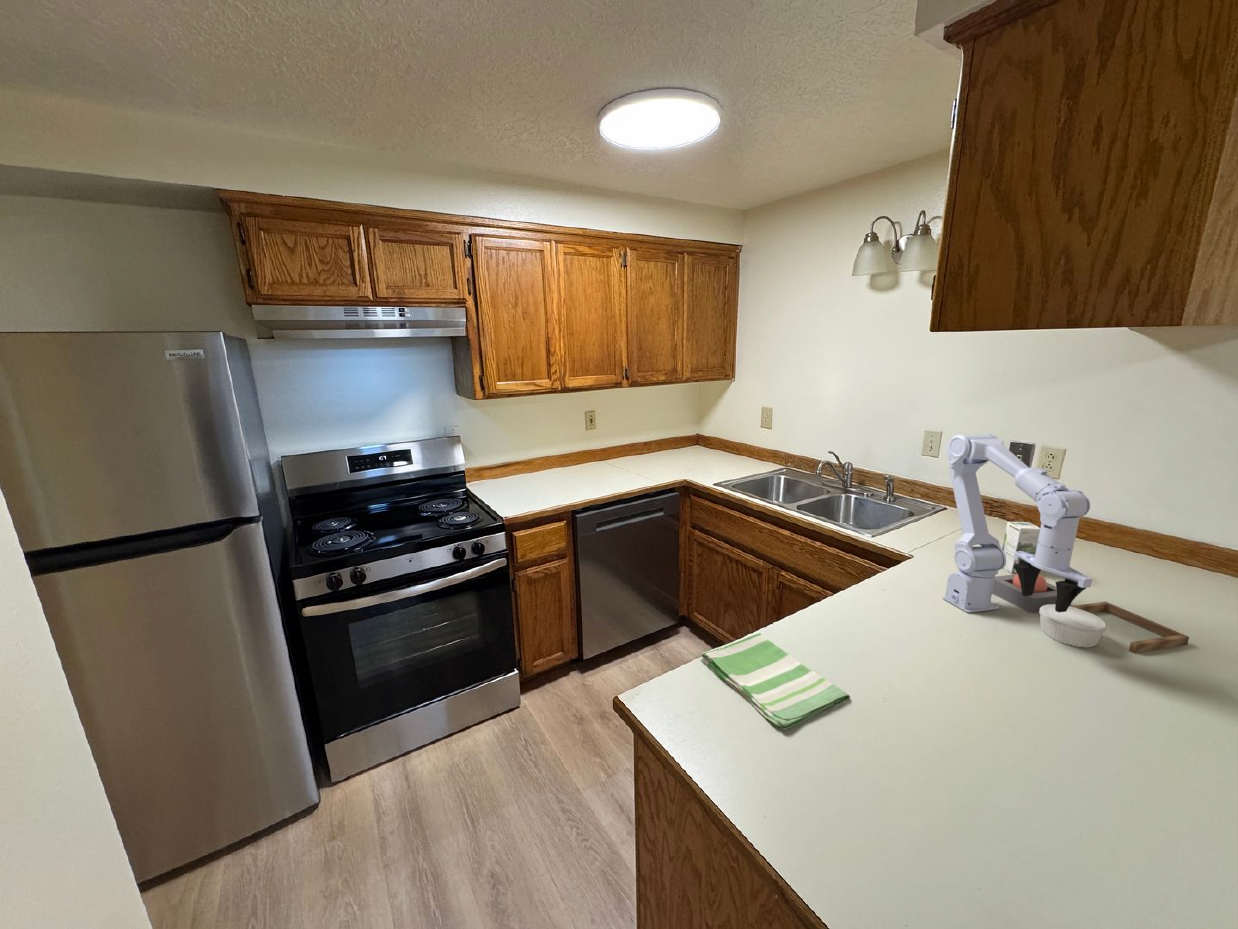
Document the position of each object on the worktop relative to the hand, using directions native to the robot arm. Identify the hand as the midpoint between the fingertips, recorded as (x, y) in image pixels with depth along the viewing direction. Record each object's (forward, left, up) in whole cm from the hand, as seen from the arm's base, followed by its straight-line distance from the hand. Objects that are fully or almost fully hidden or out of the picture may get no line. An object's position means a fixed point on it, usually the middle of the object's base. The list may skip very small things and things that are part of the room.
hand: (1043, 603), depth 107 cm
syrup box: (+31, +31, -10) cm, 45 cm away
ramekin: (+9, 0, -10) cm, 13 cm away
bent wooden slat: (+23, 0, -9) cm, 25 cm away
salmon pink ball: (+17, +16, -9) cm, 25 cm away
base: (+17, +16, -9) cm, 25 cm away
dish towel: (-65, 0, -10) cm, 66 cm away
